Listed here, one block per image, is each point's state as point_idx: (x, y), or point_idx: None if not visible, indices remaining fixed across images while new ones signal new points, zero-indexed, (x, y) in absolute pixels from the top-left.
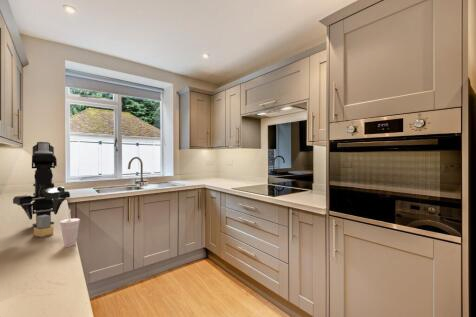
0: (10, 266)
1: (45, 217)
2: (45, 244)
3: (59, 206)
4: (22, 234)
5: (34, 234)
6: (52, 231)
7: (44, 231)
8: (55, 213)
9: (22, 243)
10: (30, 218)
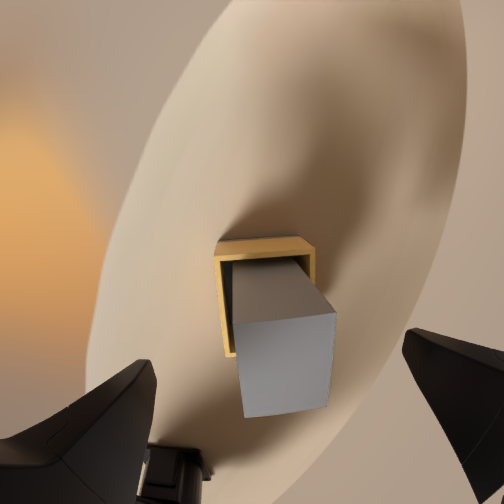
0: (454, 14)
1: (295, 310)
2: (341, 71)
3: (66, 412)
4: None
5: None
6: (222, 246)
7: (283, 244)
8: (147, 370)
9: (393, 218)
10: (422, 333)
